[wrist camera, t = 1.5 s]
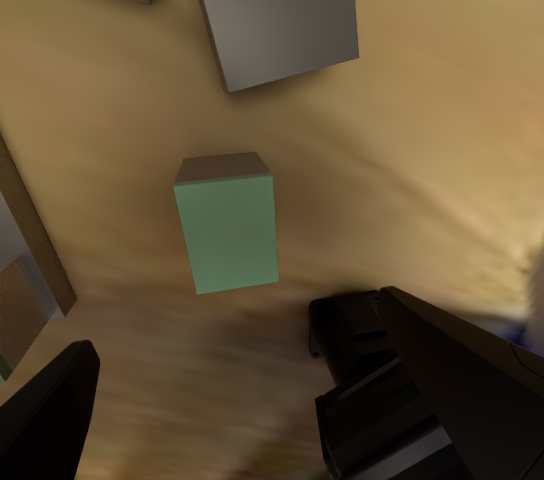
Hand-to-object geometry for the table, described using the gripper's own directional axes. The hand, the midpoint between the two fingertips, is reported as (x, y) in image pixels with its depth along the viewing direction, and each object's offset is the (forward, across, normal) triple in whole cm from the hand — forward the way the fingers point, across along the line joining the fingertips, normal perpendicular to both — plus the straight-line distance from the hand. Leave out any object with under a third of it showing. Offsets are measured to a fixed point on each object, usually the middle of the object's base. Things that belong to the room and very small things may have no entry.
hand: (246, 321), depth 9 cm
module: (+12, 0, +1) cm, 12 cm away
